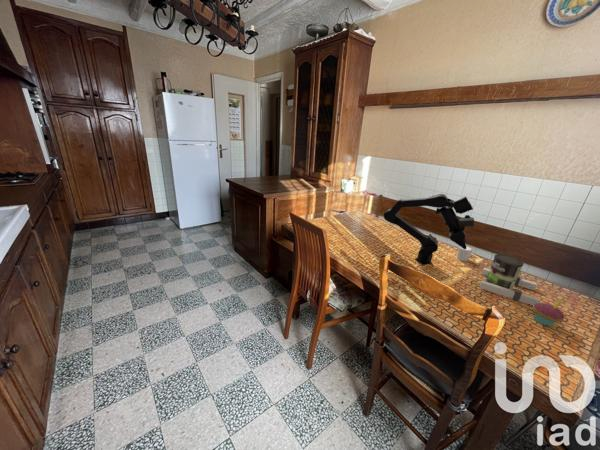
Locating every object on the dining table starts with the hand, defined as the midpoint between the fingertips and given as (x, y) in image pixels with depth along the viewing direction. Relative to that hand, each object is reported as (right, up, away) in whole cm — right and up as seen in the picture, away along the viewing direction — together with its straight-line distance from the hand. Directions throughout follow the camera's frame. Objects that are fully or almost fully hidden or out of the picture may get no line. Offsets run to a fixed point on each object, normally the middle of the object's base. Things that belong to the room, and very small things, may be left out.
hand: (465, 245), depth 121 cm
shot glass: (+10, -9, +17) cm, 22 cm away
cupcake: (+11, -27, -28) cm, 40 cm away
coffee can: (+11, -19, -6) cm, 23 cm away
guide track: (+14, -19, -8) cm, 25 cm away
